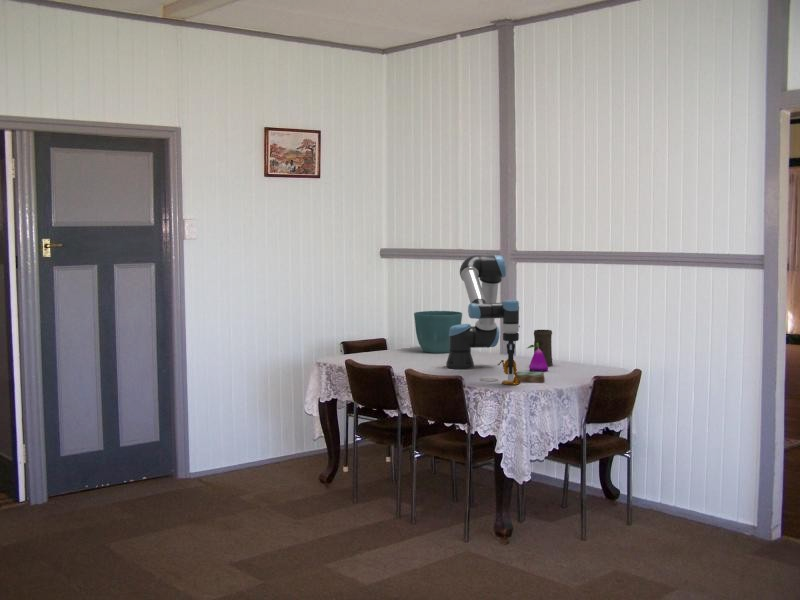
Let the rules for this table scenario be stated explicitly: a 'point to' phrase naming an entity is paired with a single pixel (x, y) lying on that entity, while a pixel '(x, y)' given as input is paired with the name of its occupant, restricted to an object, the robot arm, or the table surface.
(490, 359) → the table surface
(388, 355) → the table surface
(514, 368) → the figurine
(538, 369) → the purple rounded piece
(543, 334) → the beer stein
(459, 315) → the flower pot
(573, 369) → the table surface
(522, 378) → the podium
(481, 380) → the coaster
